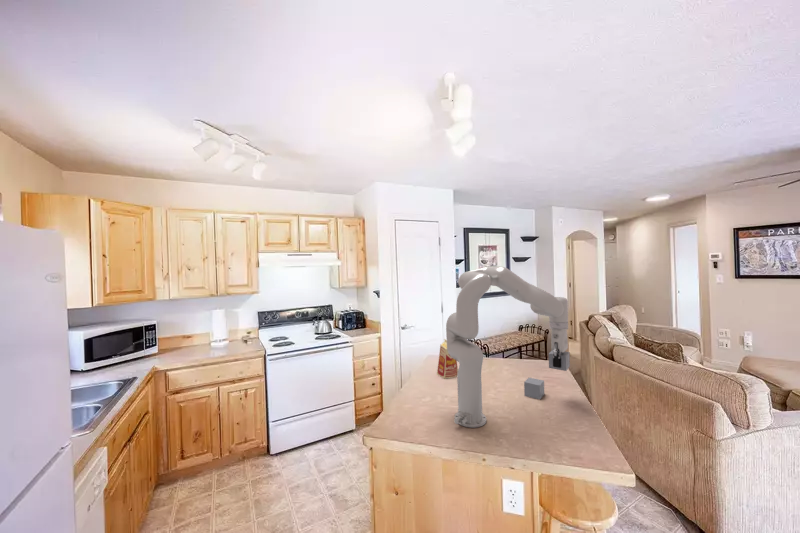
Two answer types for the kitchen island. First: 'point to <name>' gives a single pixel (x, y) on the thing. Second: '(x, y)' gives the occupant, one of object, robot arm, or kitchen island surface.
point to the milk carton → (446, 363)
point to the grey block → (564, 361)
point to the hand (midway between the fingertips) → (559, 364)
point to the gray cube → (534, 388)
